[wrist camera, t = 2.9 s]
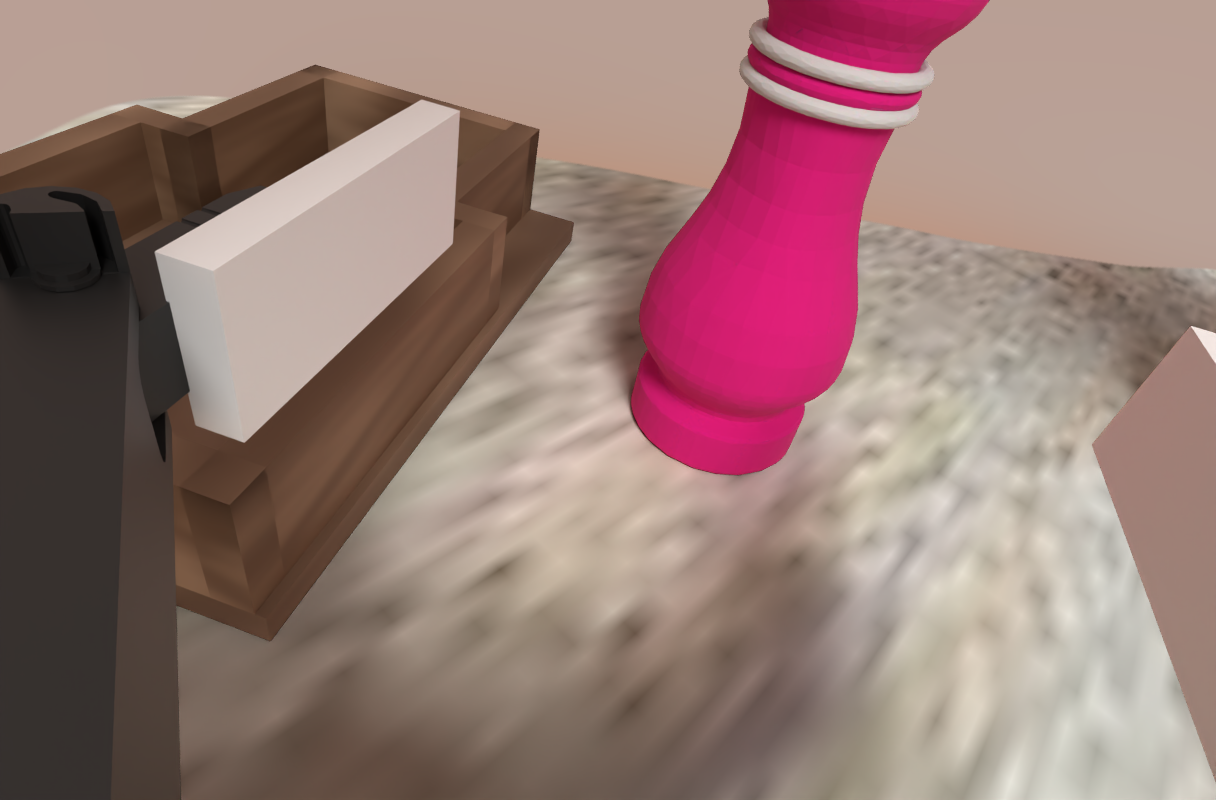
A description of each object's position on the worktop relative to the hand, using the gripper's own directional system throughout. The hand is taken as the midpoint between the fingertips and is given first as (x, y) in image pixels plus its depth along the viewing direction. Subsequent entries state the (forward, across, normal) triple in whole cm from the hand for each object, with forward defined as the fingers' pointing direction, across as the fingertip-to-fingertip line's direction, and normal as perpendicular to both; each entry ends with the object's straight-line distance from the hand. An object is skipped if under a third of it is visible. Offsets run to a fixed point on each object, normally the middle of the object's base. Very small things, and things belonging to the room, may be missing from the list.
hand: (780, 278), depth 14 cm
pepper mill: (+10, 0, -12) cm, 15 cm away
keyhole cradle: (+8, -17, -11) cm, 22 cm away
